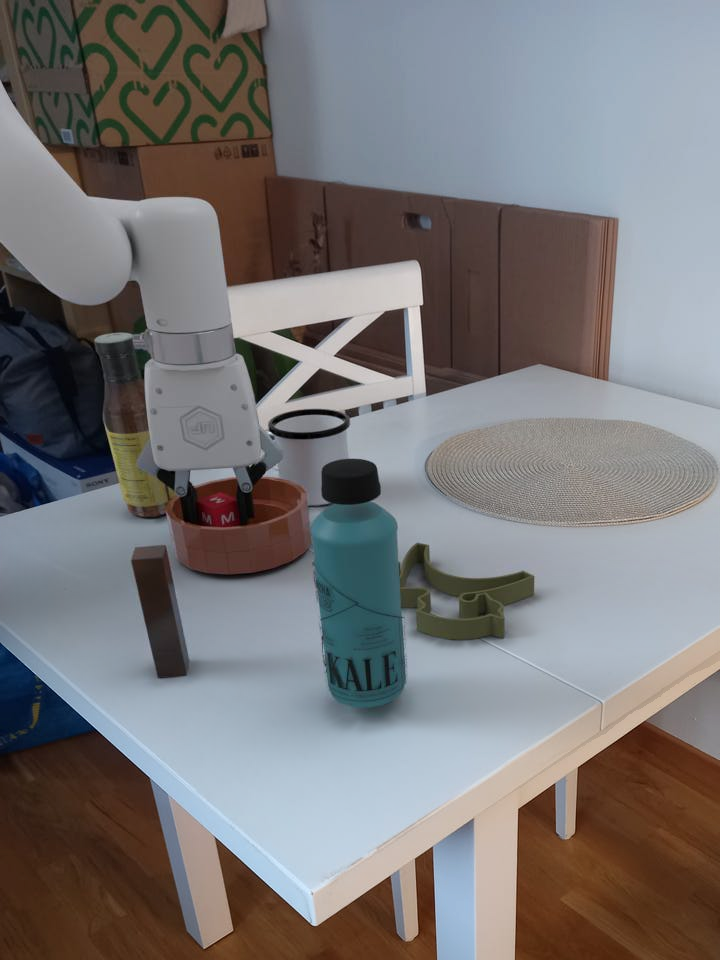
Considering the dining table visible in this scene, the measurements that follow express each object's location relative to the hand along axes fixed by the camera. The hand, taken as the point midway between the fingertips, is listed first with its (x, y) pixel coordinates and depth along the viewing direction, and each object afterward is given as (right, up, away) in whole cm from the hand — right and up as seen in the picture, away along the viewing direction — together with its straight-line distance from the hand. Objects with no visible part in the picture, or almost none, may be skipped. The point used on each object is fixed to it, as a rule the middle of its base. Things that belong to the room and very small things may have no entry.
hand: (220, 524), depth 95 cm
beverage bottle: (+18, -17, -21) cm, 32 cm away
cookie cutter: (+23, -8, -6) cm, 25 cm away
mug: (+6, +6, +17) cm, 19 cm away
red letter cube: (0, 0, 0) cm, 1 cm away
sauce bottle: (-11, +3, +13) cm, 18 cm away
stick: (+1, -14, -17) cm, 22 cm away
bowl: (+2, -2, +4) cm, 4 cm away
